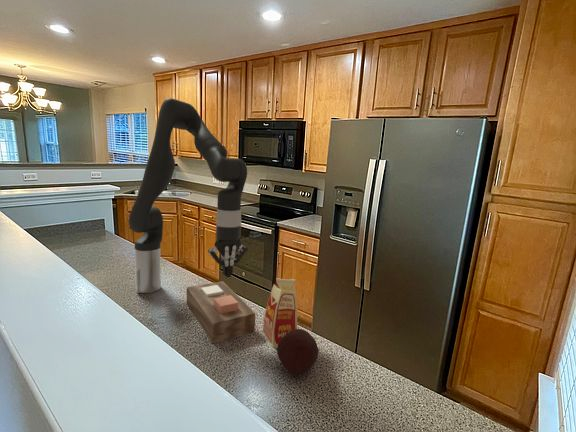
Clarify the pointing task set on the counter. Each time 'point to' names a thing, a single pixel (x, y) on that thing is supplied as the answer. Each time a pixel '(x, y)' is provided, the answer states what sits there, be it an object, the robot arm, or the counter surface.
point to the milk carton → (280, 311)
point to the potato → (297, 352)
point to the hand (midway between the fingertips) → (227, 276)
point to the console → (216, 323)
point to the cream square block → (211, 291)
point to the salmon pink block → (225, 304)
